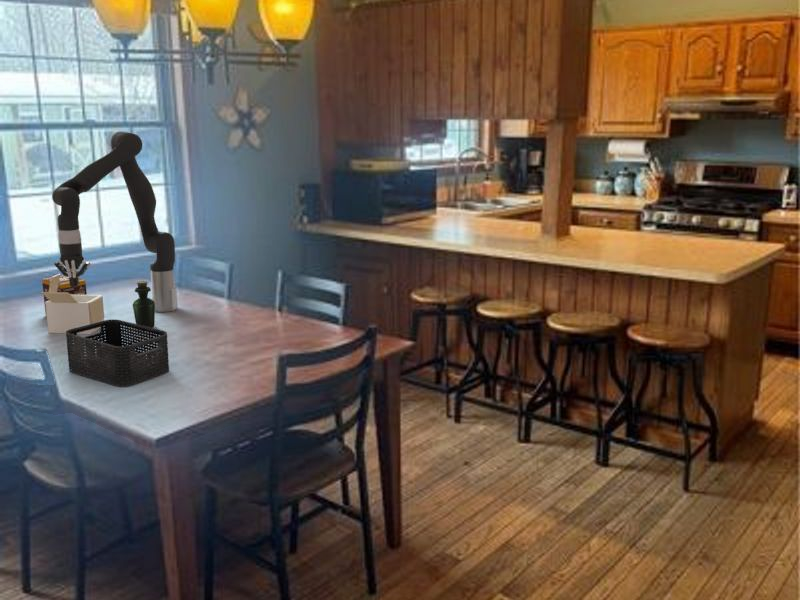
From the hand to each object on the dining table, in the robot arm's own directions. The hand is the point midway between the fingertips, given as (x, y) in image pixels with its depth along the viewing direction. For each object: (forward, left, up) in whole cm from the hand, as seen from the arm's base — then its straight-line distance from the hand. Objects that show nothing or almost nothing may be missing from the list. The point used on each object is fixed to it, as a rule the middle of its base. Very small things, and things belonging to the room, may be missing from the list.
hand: (74, 286), depth 269 cm
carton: (+1, 0, -16) cm, 17 cm away
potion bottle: (-24, -4, -17) cm, 30 cm away
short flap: (+8, 0, 0) cm, 8 cm away
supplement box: (+13, -17, -17) cm, 27 cm away
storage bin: (-35, +45, -17) cm, 60 cm away
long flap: (+1, +10, -2) cm, 10 cm away
